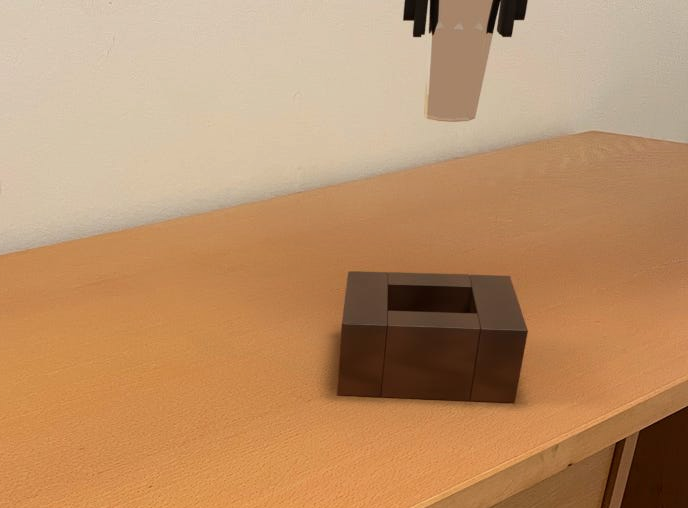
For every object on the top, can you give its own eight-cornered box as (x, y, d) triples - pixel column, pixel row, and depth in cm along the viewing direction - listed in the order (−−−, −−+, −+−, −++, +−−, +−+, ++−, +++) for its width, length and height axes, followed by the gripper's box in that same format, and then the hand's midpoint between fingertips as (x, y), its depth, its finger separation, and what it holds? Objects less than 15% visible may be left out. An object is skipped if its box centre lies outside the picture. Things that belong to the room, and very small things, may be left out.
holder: (499, 341, 75) (510, 275, 72) (515, 403, 66) (528, 329, 63) (343, 335, 77) (348, 270, 74) (336, 395, 67) (341, 323, 64)
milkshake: (500, 115, 64) (530, -72, 58) (468, 126, 61) (496, -72, 55) (436, 108, 67) (459, -73, 61) (402, 119, 63) (422, -72, 57)
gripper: (342, -388, 48) (321, 41, 59) (701, -410, 46) (611, 41, 57) (348, -355, 54) (329, 30, 65) (667, -373, 52) (591, 29, 63)
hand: (461, 31), depth 61 cm, fingers closed on milkshake, 4 cm apart
